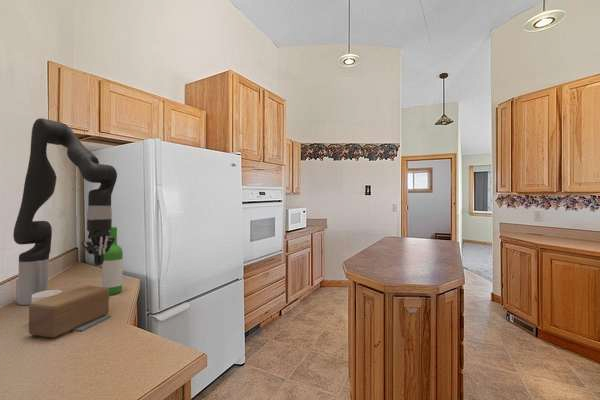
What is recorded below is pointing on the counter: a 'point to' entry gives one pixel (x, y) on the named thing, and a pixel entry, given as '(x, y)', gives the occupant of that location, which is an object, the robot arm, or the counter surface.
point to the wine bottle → (113, 266)
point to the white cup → (45, 295)
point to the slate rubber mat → (91, 323)
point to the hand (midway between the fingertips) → (98, 264)
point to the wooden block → (67, 310)
